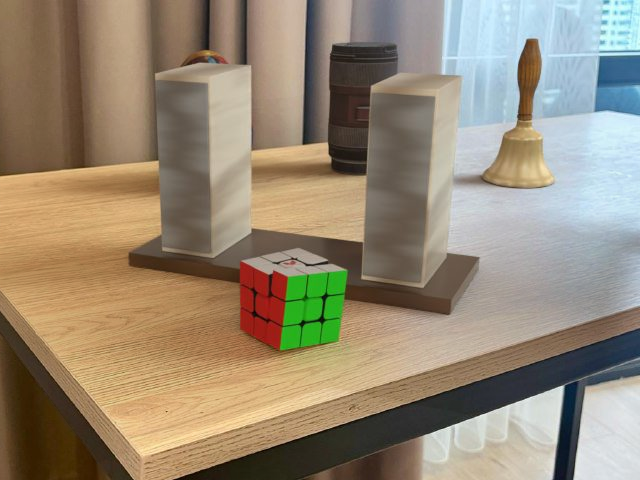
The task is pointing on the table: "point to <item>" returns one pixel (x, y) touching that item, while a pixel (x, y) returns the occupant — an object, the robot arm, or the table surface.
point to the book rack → (357, 257)
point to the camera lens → (354, 99)
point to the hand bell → (523, 133)
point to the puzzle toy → (291, 299)
